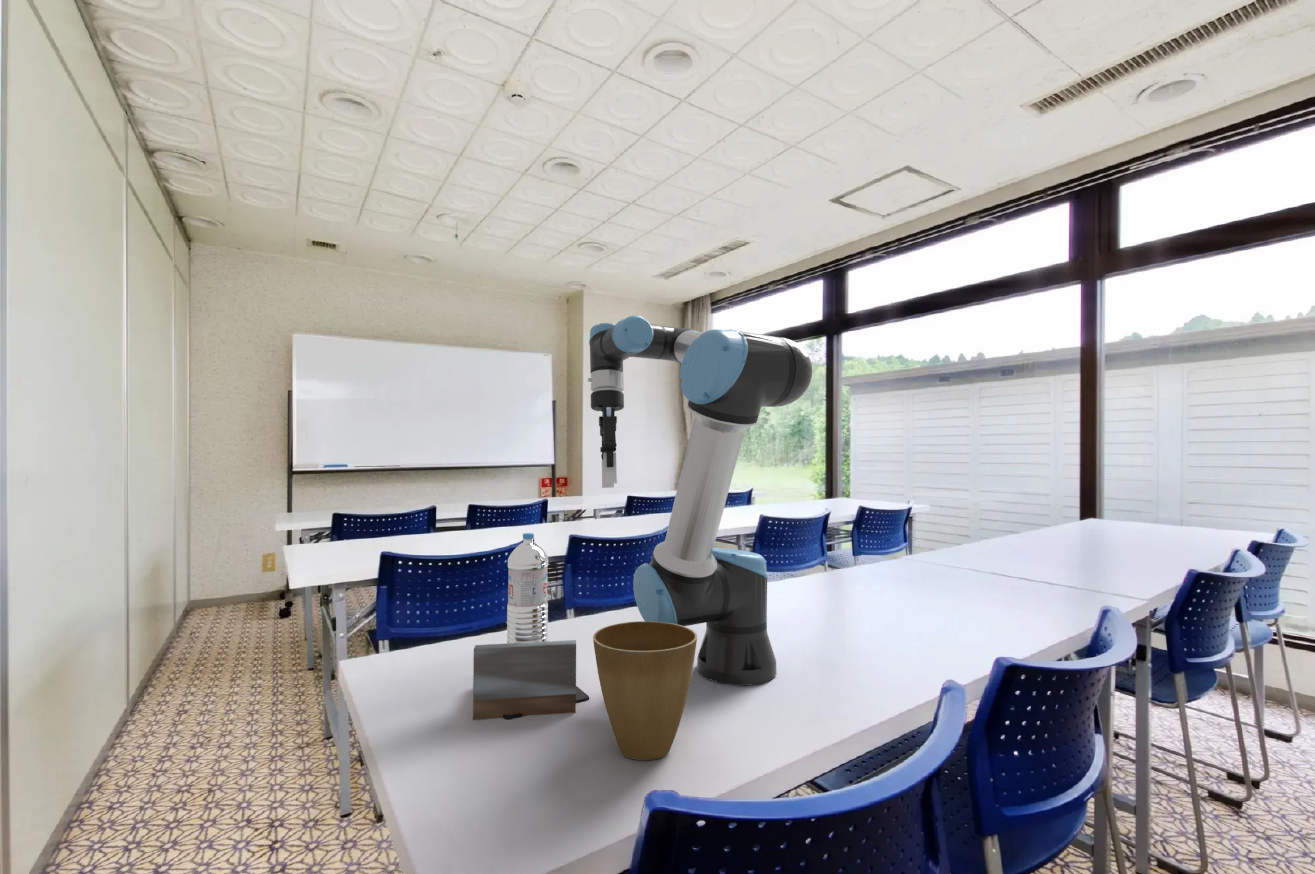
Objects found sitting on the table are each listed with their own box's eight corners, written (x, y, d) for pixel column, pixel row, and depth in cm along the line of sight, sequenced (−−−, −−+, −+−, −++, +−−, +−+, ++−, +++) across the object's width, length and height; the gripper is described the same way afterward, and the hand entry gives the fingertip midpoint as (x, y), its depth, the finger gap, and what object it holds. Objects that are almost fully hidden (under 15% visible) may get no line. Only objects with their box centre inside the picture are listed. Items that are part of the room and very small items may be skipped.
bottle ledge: (483, 685, 105) (484, 623, 106) (573, 679, 108) (573, 619, 108) (472, 720, 92) (473, 649, 92) (575, 712, 94) (576, 643, 95)
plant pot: (718, 753, 82) (718, 638, 82) (628, 788, 73) (629, 659, 73) (657, 714, 94) (657, 614, 94) (573, 740, 85) (574, 630, 86)
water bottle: (537, 689, 96) (539, 536, 97) (499, 686, 97) (500, 535, 98) (553, 674, 103) (554, 531, 103) (517, 671, 104) (518, 530, 105)
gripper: (590, 403, 145) (591, 489, 142) (590, 378, 120) (592, 481, 117) (620, 403, 146) (622, 488, 142) (627, 378, 121) (629, 480, 118)
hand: (609, 485), depth 130 cm, fingers open, 13 cm apart
